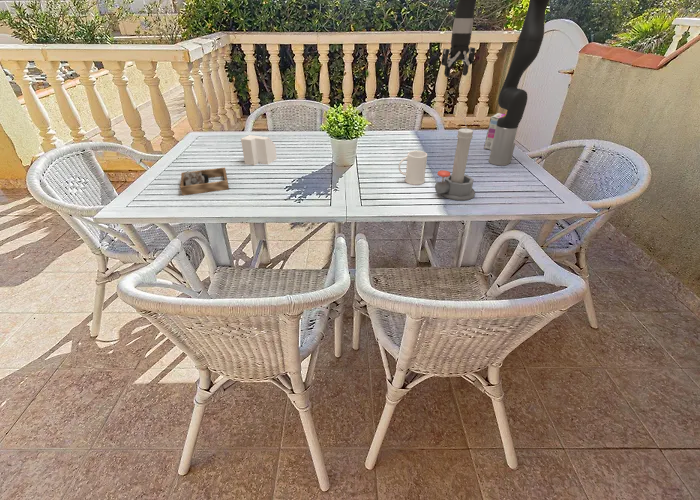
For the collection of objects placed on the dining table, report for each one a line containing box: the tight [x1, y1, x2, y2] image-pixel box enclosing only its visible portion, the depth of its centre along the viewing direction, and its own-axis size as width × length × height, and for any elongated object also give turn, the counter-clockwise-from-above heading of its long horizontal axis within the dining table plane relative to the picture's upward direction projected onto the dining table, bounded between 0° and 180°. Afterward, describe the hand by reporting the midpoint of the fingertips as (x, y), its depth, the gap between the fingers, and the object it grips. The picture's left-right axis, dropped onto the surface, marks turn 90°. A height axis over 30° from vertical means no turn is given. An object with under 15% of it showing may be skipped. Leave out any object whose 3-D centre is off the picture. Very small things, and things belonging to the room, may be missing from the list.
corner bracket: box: [240, 134, 278, 166], centre depth 175 cm, size 11×11×12 cm
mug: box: [398, 150, 428, 186], centre depth 156 cm, size 12×8×12 cm
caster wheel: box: [184, 170, 210, 186], centre depth 155 cm, size 7×11×10 cm
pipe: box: [451, 113, 474, 184], centre depth 140 cm, size 6×6×30 cm
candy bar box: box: [483, 112, 507, 151], centre depth 191 cm, size 11×5×16 cm, turn 144°
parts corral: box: [179, 167, 230, 196], centre depth 155 cm, size 18×16×4 cm
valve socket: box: [434, 169, 476, 202], centre depth 146 cm, size 17×14×10 cm
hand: (455, 76), depth 156 cm, fingers open, 8 cm apart
